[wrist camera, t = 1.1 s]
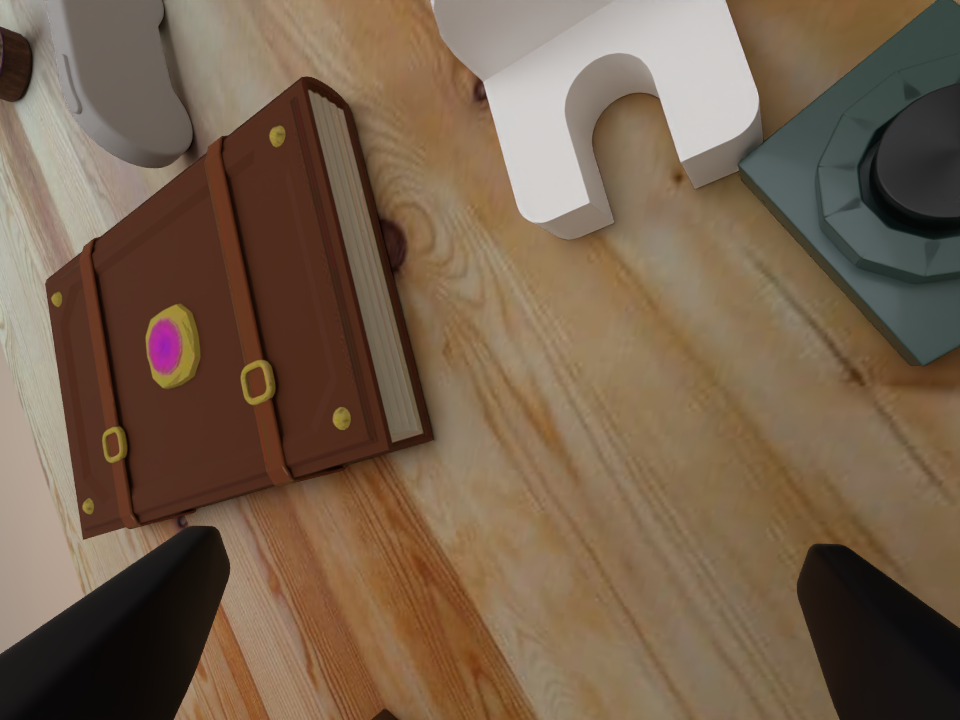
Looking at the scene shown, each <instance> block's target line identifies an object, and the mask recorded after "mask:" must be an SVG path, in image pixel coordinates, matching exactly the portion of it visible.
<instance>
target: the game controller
mask: <svg viewBox="0 0 960 720" xmlns="http://www.w3.org/2000/svg"><path fill="white" fill-rule="evenodd" d="M45 3H46V8H47V13H48V19H49V24H50V29H51V34H52V39H53V44H54V50H55V55H56V60H57V62H56V65H57V70H58V75H59V80H60V84H61V88H62V92H63V96H64V99H65V101H66V104H67V106H68V108H69V111H70V112H71V114H72V116H73V117H74V119H75V120H76V122H77V123H78V124H79V126H80V127H81V128H82V129H83V131H84V132H85V133H86V134H87V135H88V136H89V137H90V138H91V139H92V140H93V141H95V142H96V143H97V144H98V145H99V146H101V147H102V148H103V149H105V150H106V151H108V152H109V153H111V154H112V155H114V156H116V157H118V158H120V159H122V160H124V161H126V162H128V163H131V164H134V165H137V166H141V167H146V168H162V167H165V166H168V165H170V164H172V163H173V162H174V161H176V160H177V159H178V158H179V157H180V156H181V155H182V154H183V153H184V152H186V150H187V149H188V148H189V146H190V145H191V142H192V136H193V132H192V125H191V121H190V118H189V116H188V114H187V111H186V110H185V108H184V106H183V104H182V103H181V101H180V100H179V98H178V97H177V95H176V94H175V92H174V91H173V88H172V85H171V81H170V77H169V73H168V68H167V64H166V60H165V55H164V51H163V47H162V42H161V38H160V33H159V28H158V26H159V24H160V23H161V21H162V19H163V16H164V7H163V3H162V0H45Z"/></svg>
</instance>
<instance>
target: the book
mask: <svg viewBox="0 0 960 720" xmlns="http://www.w3.org/2000/svg"><path fill="white" fill-rule="evenodd" d="M45 286H46V292H47V299H48V306H49V313H50V320H51V326H52V333H53V340H54V347H55V353H56V360H57V367H58V374H59V380H60V387H61V394H62V401H63V407H64V414H65V421H66V428H67V434H68V441H69V448H70V455H71V461H72V468H73V475H74V482H75V488H76V495H77V502H78V509H79V515H80V522H81V529H82V536H83V540H84V539H87V538H90V537H94V536H97V535H101V534H104V533H108V532H111V531H114V530H118V529H121V528H125V527H127V528H128V529H133V528H137V527H141V526H145V525H148V524H152V523H156V522H160V521H164V520H168V519H172V518H176V517H180V516H184V515H187V514H191V513H194V512H195V511H196V509H198V508H201V507H205V506H208V505H212V504H215V503H218V502H222V501H225V500H229V499H232V498H236V497H239V496H243V495H246V494H249V493H253V492H256V491H260V490H263V489H267V488H270V487H274V486H277V487H278V486H282V485H286V484H290V483H294V482H299V481H303V480H307V479H311V478H315V477H319V476H323V475H327V474H331V473H334V472H338V471H341V470H344V469H345V466H346V465H349V464H353V463H356V462H360V461H363V460H367V459H370V458H374V457H377V456H380V455H384V454H387V453H391V452H394V451H398V450H401V449H405V448H408V447H411V446H415V445H418V444H422V443H425V442H429V441H432V440H433V436H432V432H431V428H430V424H429V420H428V416H427V412H426V408H425V404H424V400H423V396H422V392H421V388H420V384H419V380H418V376H417V372H416V368H415V364H414V360H413V356H412V352H411V348H410V344H409V340H408V336H407V332H406V328H405V324H404V320H403V317H402V313H401V309H400V305H399V301H398V297H397V293H396V289H395V285H394V281H393V277H392V273H391V269H390V265H389V261H388V257H387V253H386V249H385V245H384V241H383V237H382V233H381V229H380V225H379V221H378V217H377V213H376V209H375V205H374V201H373V197H372V193H371V189H370V185H369V181H368V177H367V173H366V169H365V165H364V161H363V157H362V153H361V149H360V145H359V141H358V137H357V133H356V129H355V125H354V121H353V117H352V113H351V110H350V108H349V106H348V104H347V103H346V102H345V100H344V99H343V98H342V97H341V96H340V95H339V94H338V93H337V92H336V91H334V90H333V89H332V88H330V87H329V86H328V85H326V84H324V83H323V82H321V81H319V80H317V79H315V78H312V77H301V78H300V79H299V80H298V81H296V82H295V83H294V84H293V85H291V86H290V87H289V88H288V89H286V90H285V91H284V92H282V93H281V94H280V95H279V96H277V97H276V98H275V99H274V100H272V101H271V102H270V103H269V104H267V105H266V106H265V107H264V108H262V109H261V110H260V111H259V112H257V113H256V114H255V115H254V116H252V117H251V118H250V119H248V120H247V121H246V122H245V123H243V124H242V125H241V126H240V127H238V128H237V129H236V130H235V131H233V132H232V133H231V134H230V135H228V136H222V137H220V138H219V139H218V140H216V141H215V142H214V143H213V144H211V145H210V146H209V147H208V150H207V153H206V154H204V155H203V156H202V157H201V158H199V159H198V160H197V161H196V162H194V163H193V164H192V165H191V166H189V167H188V168H187V169H185V170H184V171H183V172H182V173H180V174H179V175H178V176H177V177H175V178H174V179H173V180H172V181H170V182H169V183H168V184H167V185H165V186H164V187H163V188H162V189H160V190H159V191H158V192H156V193H155V194H154V195H153V196H151V197H150V198H149V199H148V200H146V201H145V202H144V203H143V204H141V205H140V206H139V207H138V208H136V209H135V210H134V211H133V212H131V213H130V214H129V215H128V216H126V217H125V218H124V219H122V220H121V221H120V222H119V223H117V224H116V225H115V226H114V227H112V228H111V229H110V230H109V231H107V232H106V233H105V234H104V235H102V236H101V237H98V238H94V239H93V240H91V241H90V242H89V243H88V244H86V245H85V246H84V248H83V251H82V252H81V253H80V254H78V255H77V256H76V257H75V258H73V259H72V260H71V261H70V262H68V263H67V264H66V265H65V266H63V267H62V268H61V269H59V270H58V271H57V272H56V273H54V274H53V275H52V276H51V277H49V278H48V279H47V280H46V283H45ZM325 471H327V472H325ZM181 513H183V514H181ZM177 514H179V515H177ZM174 515H175V516H174ZM170 516H171V517H170Z"/></svg>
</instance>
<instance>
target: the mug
mask: <svg viewBox="0 0 960 720" xmlns="http://www.w3.org/2000/svg"><path fill="white" fill-rule="evenodd" d="M31 67H32V56H31V50H30V47H29V45H28V42H27V41H26V39H25V38H24V37H23V36H22V35H21V34H18V33H16V32H13V31H11V30H8V29H5V28H3V27H0V99H3V100H6V101H10V102H13V101H15V100H17V99H19V98H20V97H21V96H22V95H23V94H24V92H25V90H26V88H27V86H28V83H29V79H30V75H31Z"/></svg>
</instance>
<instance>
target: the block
mask: <svg viewBox="0 0 960 720" xmlns="http://www.w3.org/2000/svg"><path fill="white" fill-rule="evenodd" d="M372 720H397V719H395V718H394V717H393V716H392V715H391V714H390V713H389V712H388V711H386V710H385V709H383V710H382V711H381V712H380V713H379V714H377V715H376V716H375V717H374V718H373V719H372Z"/></svg>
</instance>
